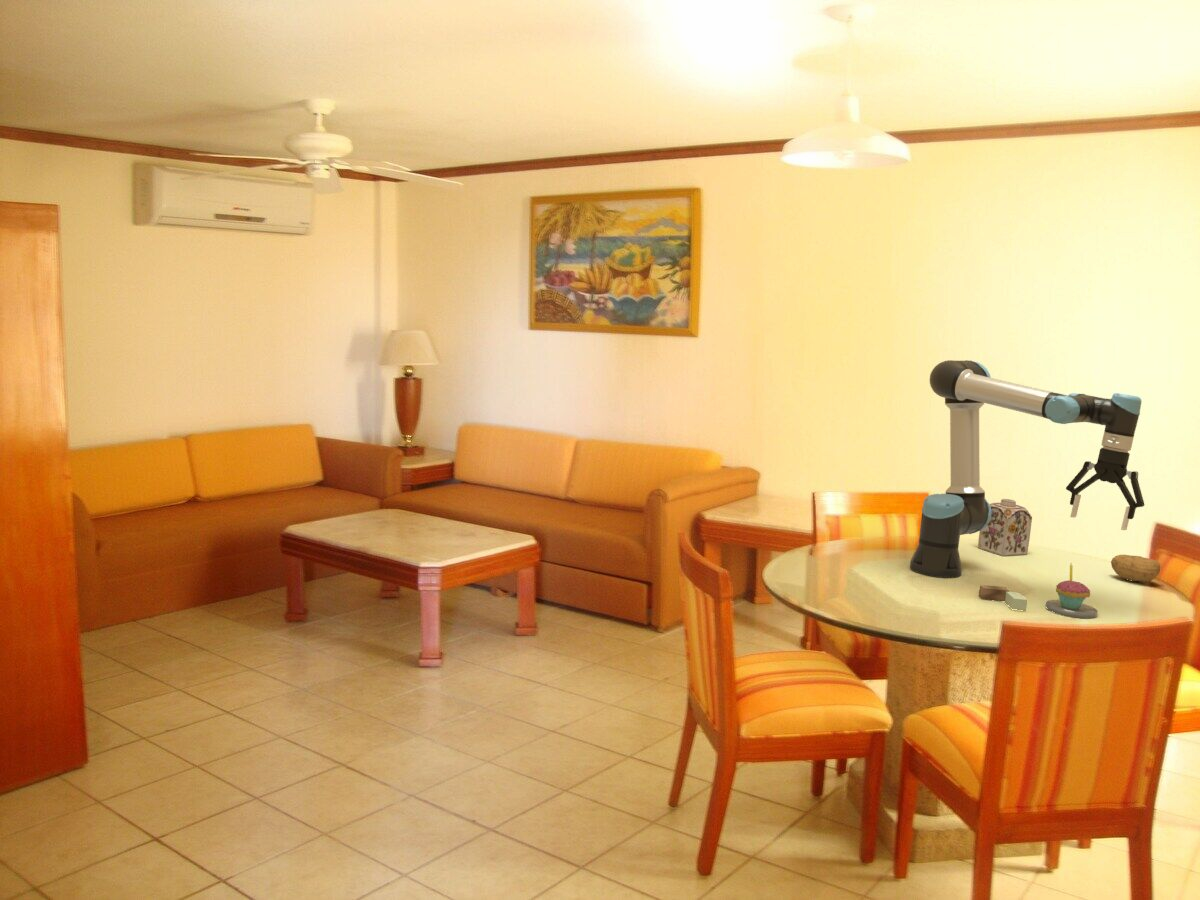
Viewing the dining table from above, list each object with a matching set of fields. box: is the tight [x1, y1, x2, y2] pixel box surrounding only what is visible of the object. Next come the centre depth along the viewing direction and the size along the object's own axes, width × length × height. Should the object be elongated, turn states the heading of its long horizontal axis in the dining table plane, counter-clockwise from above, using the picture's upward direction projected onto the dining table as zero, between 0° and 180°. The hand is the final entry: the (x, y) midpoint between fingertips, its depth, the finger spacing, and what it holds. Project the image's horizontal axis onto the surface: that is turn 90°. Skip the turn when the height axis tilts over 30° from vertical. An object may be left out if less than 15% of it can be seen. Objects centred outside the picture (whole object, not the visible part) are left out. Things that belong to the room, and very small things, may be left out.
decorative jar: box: [977, 498, 1033, 557], centre depth 347 cm, size 12×12×18 cm
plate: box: [1044, 599, 1099, 620], centre depth 280 cm, size 13×13×1 cm
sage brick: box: [1004, 591, 1028, 612], centre depth 280 cm, size 7×4×4 cm, turn 175°
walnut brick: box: [978, 584, 1010, 602], centre depth 287 cm, size 7×4×4 cm, turn 83°
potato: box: [1110, 554, 1162, 583], centre depth 318 cm, size 10×14×8 cm
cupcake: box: [1055, 564, 1091, 609], centre depth 279 cm, size 9×8×12 cm
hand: (1098, 523), depth 287 cm, fingers open, 13 cm apart
